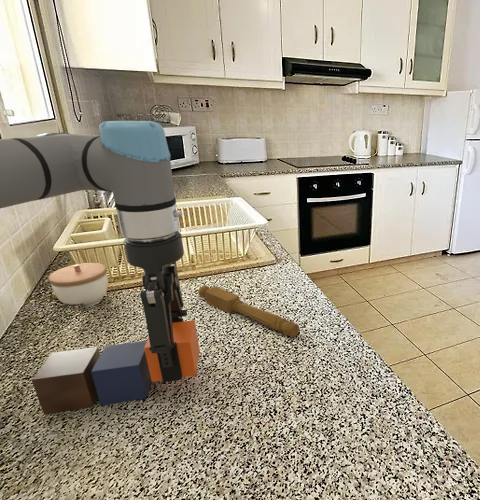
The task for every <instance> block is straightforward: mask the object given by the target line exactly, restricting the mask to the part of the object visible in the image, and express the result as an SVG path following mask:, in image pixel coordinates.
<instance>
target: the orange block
mask: <svg viewBox="0 0 480 500" xmlns="http://www.w3.org/2000/svg"><path fill="white" fill-rule="evenodd" d="M196 325H197V324H196V319H191V320H183V322H174V323H172V326H173V337H174V342H176V343H177V349H178V355H179V361H180V366H181V372H182V379H183V378H188V377H189V378H190V377H195V376H197V372H198V371H197V370H198V364H199V358H200V353H201V352H200V350H201V349H200V344H199V337H198V332H197V326H196ZM146 341H147V342H146V345H145V347H144V350H145V354H146V358H147V363H148V367H149V372H150V376H151V381H152V383H156V382H163V380H162V375H161V370H160V365H159V360H158V355H157V353H154V354H152V352H151V351H150V350H149V347H150V341H149V336H148V338H147V340H146Z"/></svg>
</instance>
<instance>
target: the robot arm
mask: <svg viewBox="0 0 480 500" xmlns="http://www.w3.org/2000/svg"><path fill="white" fill-rule="evenodd" d="M174 189H175V188H174V181H173V171H172V163H171V151H170V149H169V146H168V141H167V138H166V133H165V130H164V128H163V126H162V125H161V124H160V123H159V122H157V121H153V120H107V121H103V122H101V123H100V124H99V135H93V134H79V133H70V132H63V131H61V132H48V133H40V134H38V135H35V136H30V137H19V138H18V137H14V138H0V209H4V208H9V207H13V206H17V205H21V204H25V203H31V202H35V201H41V200H46V199H49V198H54V197H59V196H62V195H66V194H72V193H75V192H81V191H97V192H98V191H99V192H110V193H112V195H113V199H114V206H115V210H116V216H117V221H118V225H119V230H120V235H121V236H122V237H123V238H124V239H123V247H124V251H125V256H126V260H127V263H128V264H129V265H130V266H132V267H135V268H140V269H142V270H144V274H143V275H142V276H141V277H142V279H141V281H142V286H143V288H144V290H140V293H139V297H140V300H141V304H142V306H143V311H144V317H145V324H146V330H147V336H148V337H149V341H150V347H149V350H150V351H151V352H152V354H154V353H157V355H158V360H159V365H160V370H161V375H162V380H163V381H162V383H167V382H174V381H182V379H183V378H182V372H181V366H180V361H179V355H178V349H177V343H176V342H174V337H173V326H172V323H174V322H183V321H184V318H183V317H187V316H188V309H183V308H184V306H185V303H184V300H183V294H182V289H181V284H180V278H179V273H178V268H177V267H178V266H177V262H178V261H180V260H181V259H182V258H183V257H184V254H185V250H184V244H183V236H182V233H181V232H180V231H179V230H180V227H181V226H180V220H179V218H180V217H182V216H183V211H182V210H180V209H177V199H176V196H175V190H174Z"/></svg>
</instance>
